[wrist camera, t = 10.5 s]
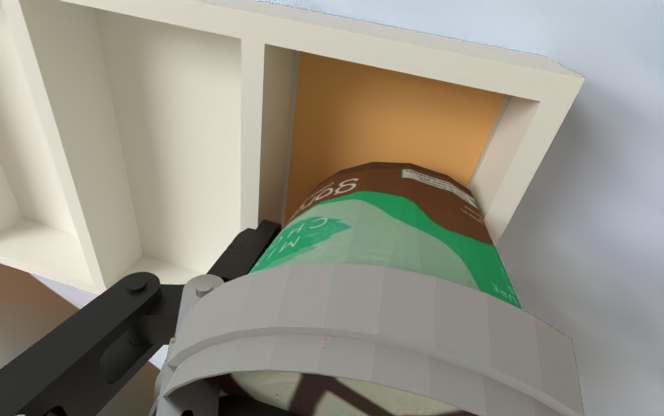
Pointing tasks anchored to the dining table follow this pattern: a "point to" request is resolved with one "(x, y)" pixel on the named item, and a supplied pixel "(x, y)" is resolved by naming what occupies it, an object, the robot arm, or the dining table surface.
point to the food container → (379, 312)
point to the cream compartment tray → (237, 125)
